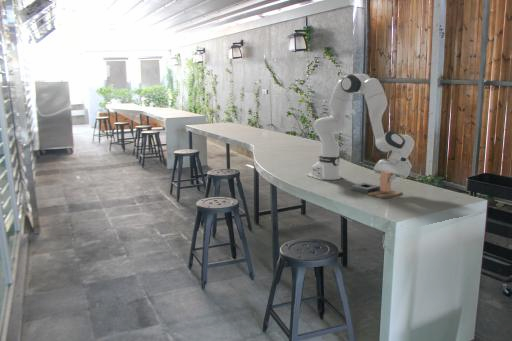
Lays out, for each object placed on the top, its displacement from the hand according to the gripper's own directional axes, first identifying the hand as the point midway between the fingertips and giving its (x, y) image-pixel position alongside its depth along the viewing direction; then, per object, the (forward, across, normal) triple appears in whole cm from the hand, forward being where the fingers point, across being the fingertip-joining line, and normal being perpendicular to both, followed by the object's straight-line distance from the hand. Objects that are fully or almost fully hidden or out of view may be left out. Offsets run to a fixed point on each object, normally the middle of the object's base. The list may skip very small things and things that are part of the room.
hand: (385, 180), depth 250 cm
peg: (+3, 0, +4) cm, 5 cm away
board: (+5, 0, +6) cm, 8 cm away
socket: (+5, -13, +6) cm, 15 cm away
